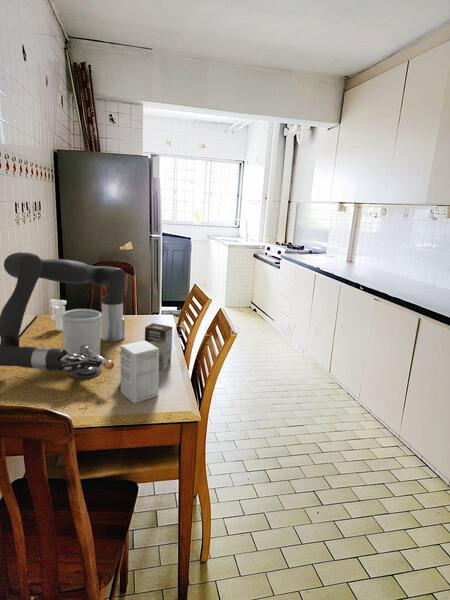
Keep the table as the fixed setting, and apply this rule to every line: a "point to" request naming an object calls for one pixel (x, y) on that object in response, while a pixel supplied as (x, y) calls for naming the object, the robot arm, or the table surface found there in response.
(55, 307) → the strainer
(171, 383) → the table surface
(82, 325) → the utensil holder
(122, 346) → the supplement box
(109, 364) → the metal lever
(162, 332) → the coffee box
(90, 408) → the table surface
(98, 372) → the base plate
